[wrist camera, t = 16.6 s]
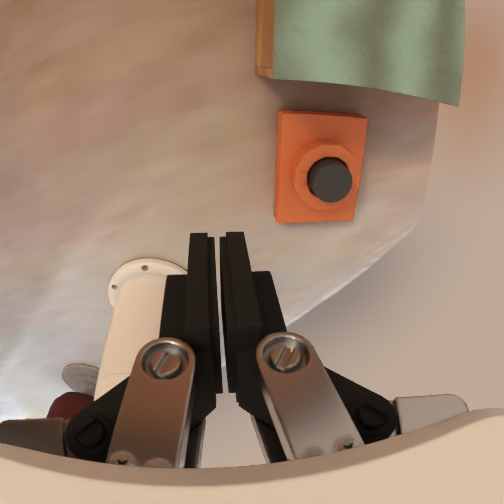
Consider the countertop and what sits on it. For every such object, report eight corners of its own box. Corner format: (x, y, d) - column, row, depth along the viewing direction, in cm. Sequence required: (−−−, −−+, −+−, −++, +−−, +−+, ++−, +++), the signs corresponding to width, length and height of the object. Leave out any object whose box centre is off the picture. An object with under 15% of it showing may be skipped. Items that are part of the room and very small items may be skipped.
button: (343, 195, 31) (349, 202, 30) (306, 195, 31) (311, 203, 29) (348, 158, 29) (355, 164, 27) (309, 157, 28) (315, 163, 27)
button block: (346, 212, 37) (359, 229, 33) (273, 215, 36) (280, 233, 32) (360, 114, 30) (377, 123, 26) (278, 110, 29) (287, 116, 26)
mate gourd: (131, 376, 51) (122, 478, 34) (117, 405, 57) (109, 488, 41) (53, 348, 45) (25, 448, 29) (50, 382, 51) (32, 465, 35)
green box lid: (458, -18, 14) (463, -18, 13) (453, 105, 21) (458, 107, 20) (273, -72, 12) (275, -76, 11) (271, 79, 19) (274, 79, 19)
